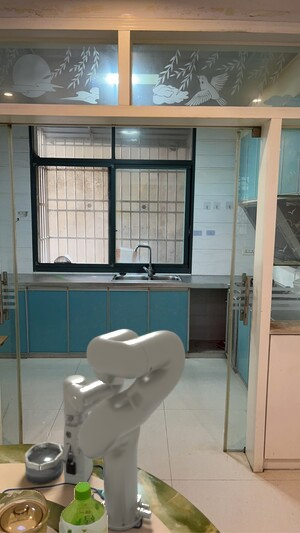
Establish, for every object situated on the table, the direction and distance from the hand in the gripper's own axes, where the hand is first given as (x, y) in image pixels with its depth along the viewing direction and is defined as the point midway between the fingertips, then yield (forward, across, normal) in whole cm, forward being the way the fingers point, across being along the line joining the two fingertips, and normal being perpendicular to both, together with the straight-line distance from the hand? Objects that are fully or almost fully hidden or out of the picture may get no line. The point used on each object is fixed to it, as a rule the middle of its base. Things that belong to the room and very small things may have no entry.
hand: (78, 464), depth 118 cm
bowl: (+4, -2, +12) cm, 13 cm away
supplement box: (+4, 0, 0) cm, 4 cm away
